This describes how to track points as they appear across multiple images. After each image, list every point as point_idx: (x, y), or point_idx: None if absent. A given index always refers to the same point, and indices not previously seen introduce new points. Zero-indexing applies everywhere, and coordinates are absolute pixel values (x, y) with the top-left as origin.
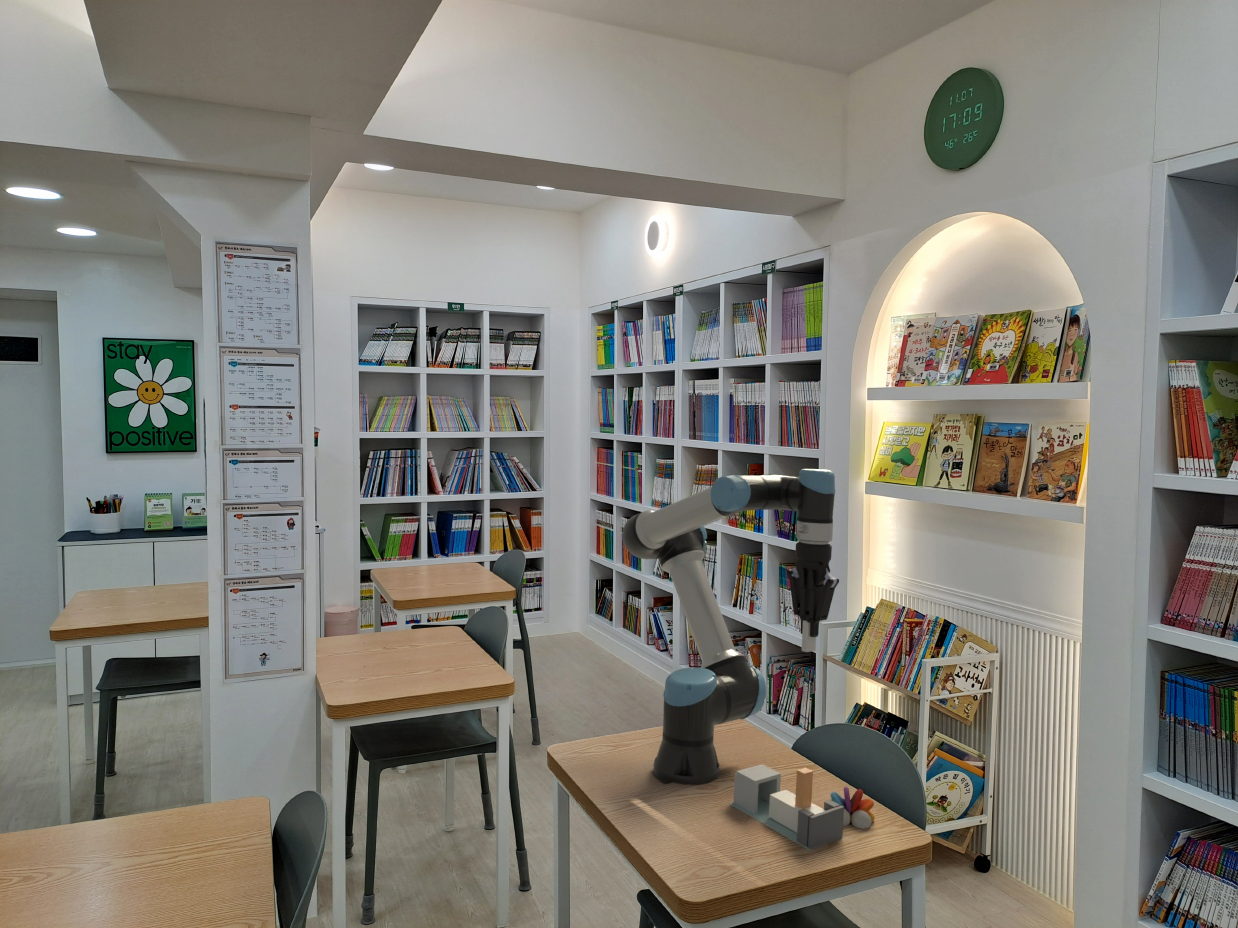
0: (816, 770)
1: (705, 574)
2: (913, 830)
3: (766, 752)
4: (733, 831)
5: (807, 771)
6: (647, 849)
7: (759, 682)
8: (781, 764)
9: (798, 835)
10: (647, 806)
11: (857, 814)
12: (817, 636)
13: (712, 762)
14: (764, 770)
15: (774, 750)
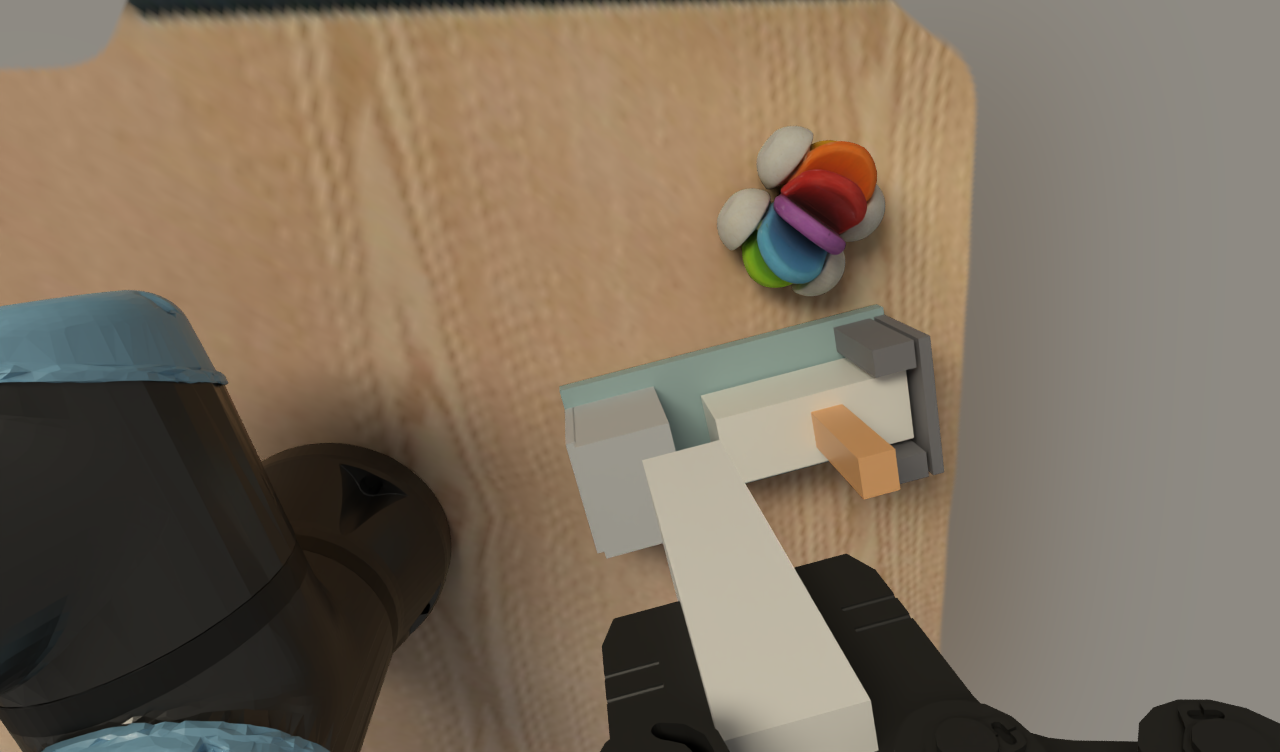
0: (392, 56)
1: None
2: (911, 34)
3: (172, 161)
4: None
5: (889, 469)
6: None
7: (94, 375)
8: (308, 169)
9: None
10: (526, 707)
11: (864, 231)
12: (845, 554)
13: (406, 529)
14: (628, 466)
15: (152, 112)
